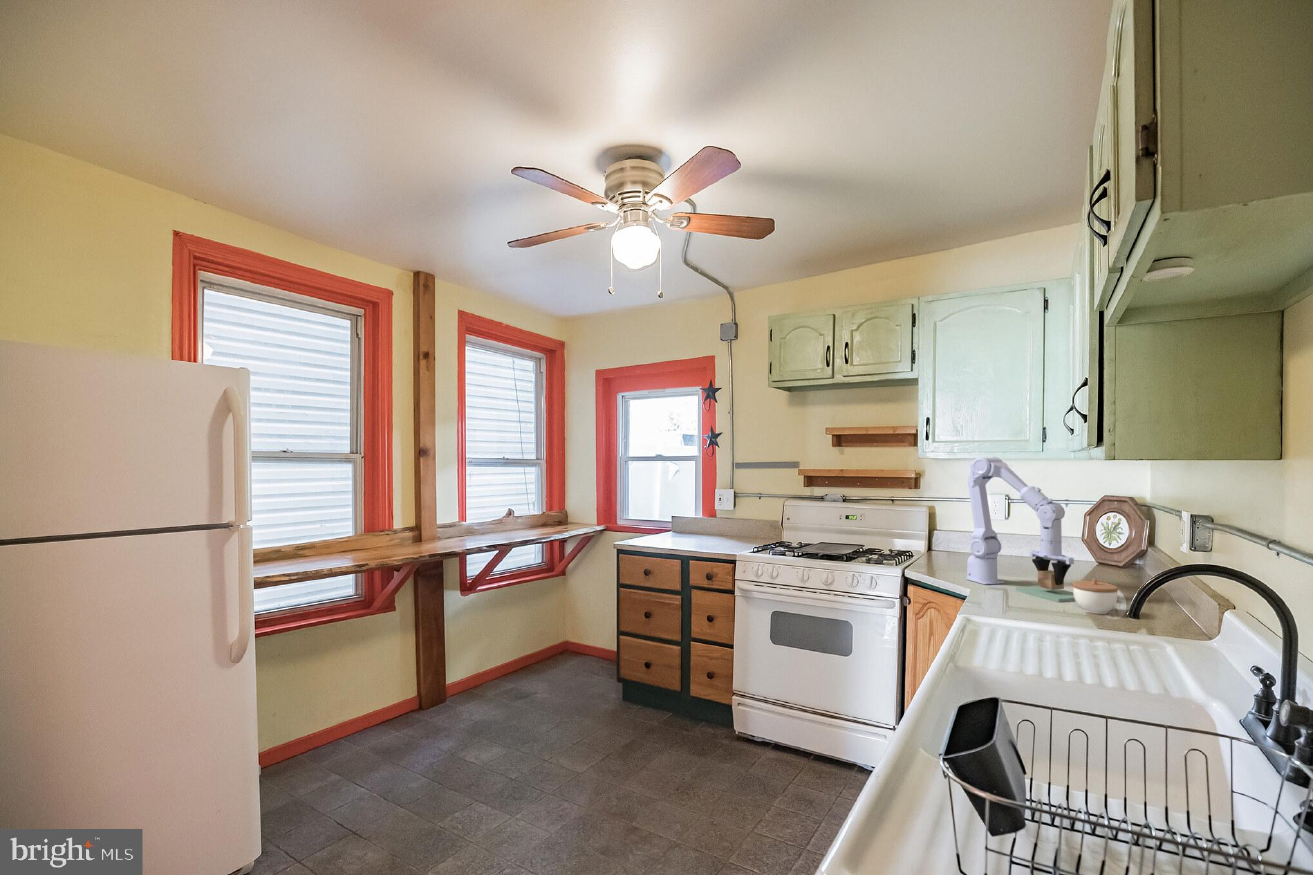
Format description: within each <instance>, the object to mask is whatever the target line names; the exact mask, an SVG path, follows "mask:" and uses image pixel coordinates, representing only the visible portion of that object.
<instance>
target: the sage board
mask: <svg viewBox="0 0 1313 875" xmlns="http://www.w3.org/2000/svg"><path fill="white" fill-rule="evenodd" d="M1015 591H1017V592H1020V593H1024V594H1028V595H1031V596H1035V597H1039V598H1042V599H1046V600H1049V601H1053V602H1056V603H1064V602H1065V603H1067V602H1076V601H1075V599H1074V595H1073V591H1068V590H1065V589H1056V590H1050V589H1046V588H1042V587H1038V585H1032V586H1017V587H1015Z"/></svg>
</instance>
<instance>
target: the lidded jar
mask: <svg viewBox="0 0 1313 875" xmlns="http://www.w3.org/2000/svg"><path fill="white" fill-rule="evenodd" d="M1071 584H1072V592H1073V595H1074V599H1075V601H1074V602H1075V603H1076V604H1077V605H1078V606H1079V608H1081V609H1082V611H1083V612H1086V613H1088V614H1095V615H1108V614H1109V613H1110V612H1111V611H1112V610H1113V609H1114V608H1115V606H1116V605H1117V600H1118V589H1119V588H1118V586H1116V585H1115V584H1112V583H1111V584H1110V583H1107V582H1101V581H1098V579H1097V578H1092V580H1091V581H1090V580H1075V581H1073V582H1072V583H1071Z"/></svg>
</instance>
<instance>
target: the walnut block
mask: <svg viewBox="0 0 1313 875" xmlns="http://www.w3.org/2000/svg"><path fill="white" fill-rule="evenodd" d="M1037 586H1038V587H1042V588H1046V589H1050V590H1056V589H1061V590H1065V580H1064V581H1063V584H1062V585H1056V584H1055V574H1054V570H1051V569H1048V570H1045V571H1037Z"/></svg>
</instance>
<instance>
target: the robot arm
mask: <svg viewBox="0 0 1313 875" xmlns="http://www.w3.org/2000/svg"><path fill="white" fill-rule="evenodd" d="M969 469H970V471H969V475H968V478H967V485H968V486H967V487H968V490H969V491H968V492H969V499H970V500H969V501H970V506H971V513H972V521H973V527H974V531H972V533H971V535H970V539H971V540H970V544H969V550H970V552H971V553H972V555H970V556H969V557H968V559H967V562H966V565H967V567H966V569H967V570H966V571H967V575H966V577H965V580H968V581H972V582H974V583H978V584H982V585H997V584H998V585H999V584H1004V581H1001V580H999V579H998V555H999V553H1001V550H1002V543H1001V541H1000V540H999V538H998V534H997V532H996V531H995V530H994V529H993V527H992V526H993V525H992V520H991V513H990V506H989V500H988V493H987V487H986V485H987V484H988V483H989V482H990V480H991V479H993V478H1000V479H1001V480H1003V481H1004V482H1006V483H1007V484H1008V485H1009V486H1010V487H1012V488H1013V489H1015V490H1016V491H1017V492H1018V493H1019V494H1020V499H1021V500H1022V501H1023V502H1024V503H1025V504H1026V505H1028V506H1029V507H1030V508H1031V509H1032V510H1034V511H1035V514H1036V516H1037V518H1038V520H1039V526H1040V551H1039V550H1029V557H1031V558H1032V559H1031V561H1032V562H1031V563H1033V564H1034V566H1035V569H1036V570H1037V572H1038V571H1045V570H1049V567H1050V564H1051V566H1052V569H1053V571H1054V574H1055V584H1056V585H1062V584H1063V581H1064V582H1065V580H1064V579H1065V577H1066V575H1067V573H1068V571H1069V569H1070V568H1071V567H1072V565H1074V564H1075V558H1074V557H1070V556H1067V555H1065V554H1063V553H1062V549H1063V548H1062V547H1063V546H1062V544H1063V543H1062V542H1063V541H1062V540H1063V538H1062V536H1063V534H1062V519H1063V518H1064V517H1065V515H1066V514H1065V513H1066V511H1065V508H1064V507H1063V506H1062V504H1060V503H1058V502H1053V499H1052V498H1049V497H1047V496H1046V495H1045V494H1044V493H1043V492H1041V491H1042V489H1041V488H1040V487H1035V486H1031V485H1030V486H1029V485H1028V483H1026V482H1024V480H1023V479H1022V478H1020V476H1019V475H1018V474H1016V473H1015V471H1013V470H1012V469H1011V468H1010V466H1009V465H1008V464H1007V463H1006V462H1004V461H1003V460H1002V459H1001V458H999V457H996V456H995V457H993V456H992V457H978V458H975V459H974V460H973V461H972V463H970V464H969ZM1051 561H1052V562H1051Z"/></svg>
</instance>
